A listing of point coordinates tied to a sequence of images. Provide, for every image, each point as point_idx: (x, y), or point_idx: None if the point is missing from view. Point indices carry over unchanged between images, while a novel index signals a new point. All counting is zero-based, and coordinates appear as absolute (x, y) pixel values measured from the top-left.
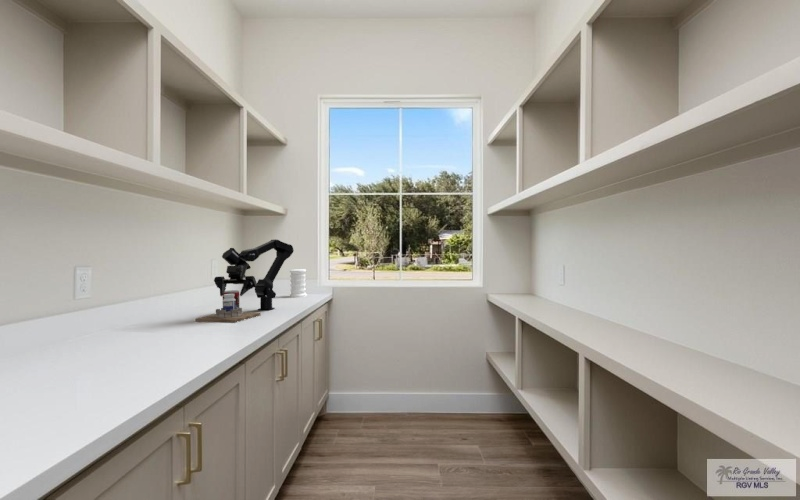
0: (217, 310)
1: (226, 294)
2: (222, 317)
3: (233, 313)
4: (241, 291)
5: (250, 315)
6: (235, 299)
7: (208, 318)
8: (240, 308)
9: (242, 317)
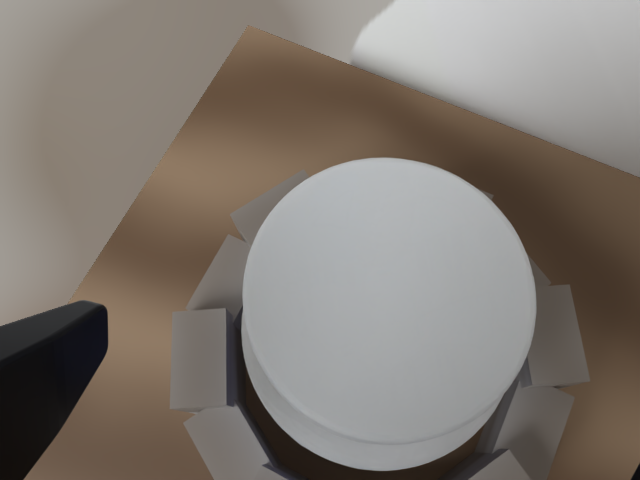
0: (539, 290)
1: (451, 245)
2: None
3: None
4: (15, 340)
5: (87, 280)
6: (243, 323)
7: (585, 193)
8: (189, 311)
9: (181, 146)
